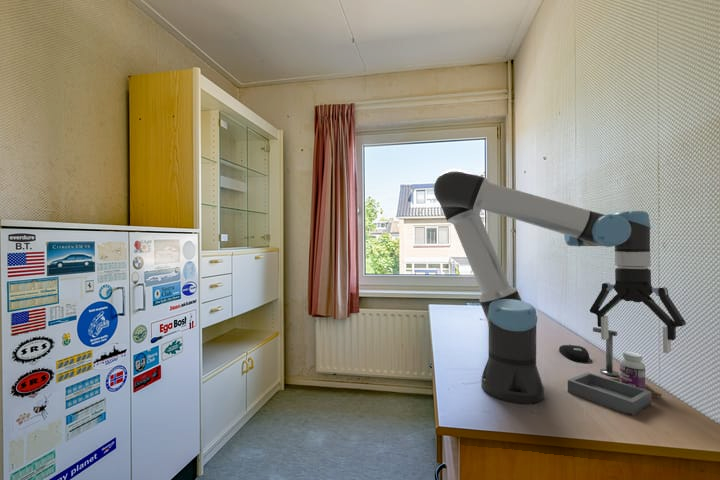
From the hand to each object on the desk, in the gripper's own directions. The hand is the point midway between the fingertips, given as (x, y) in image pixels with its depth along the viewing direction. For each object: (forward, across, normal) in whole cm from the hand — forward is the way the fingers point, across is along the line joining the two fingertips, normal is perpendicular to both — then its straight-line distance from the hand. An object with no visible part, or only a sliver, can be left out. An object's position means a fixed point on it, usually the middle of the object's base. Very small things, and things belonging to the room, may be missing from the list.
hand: (633, 345), depth 88 cm
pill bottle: (+12, 0, 0) cm, 12 cm away
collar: (+12, 0, 0) cm, 12 cm away
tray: (+12, +2, +12) cm, 17 cm away
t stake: (+12, +8, -7) cm, 16 cm away
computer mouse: (+12, +22, -14) cm, 28 cm away
